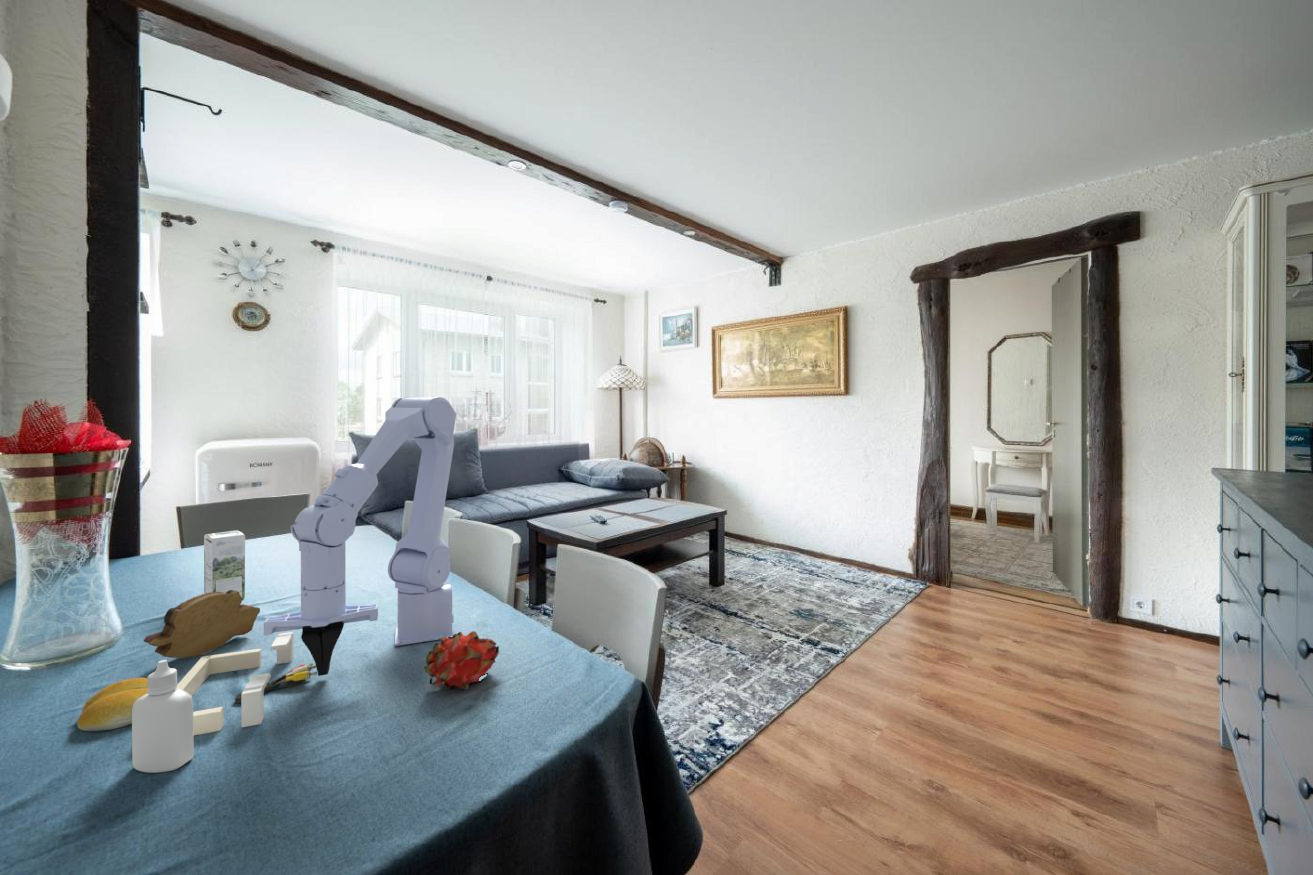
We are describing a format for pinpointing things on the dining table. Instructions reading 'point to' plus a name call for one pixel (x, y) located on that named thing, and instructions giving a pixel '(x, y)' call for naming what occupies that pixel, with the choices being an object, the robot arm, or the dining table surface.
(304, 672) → the composite cable
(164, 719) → the eye dropper bottle
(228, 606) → the wooden carving
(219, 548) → the syrup box
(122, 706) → the bread roll
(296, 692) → the dining table surface
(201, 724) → the end holder
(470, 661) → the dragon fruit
